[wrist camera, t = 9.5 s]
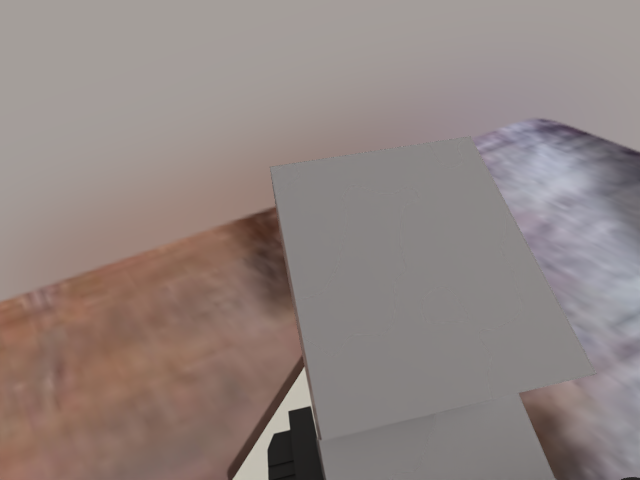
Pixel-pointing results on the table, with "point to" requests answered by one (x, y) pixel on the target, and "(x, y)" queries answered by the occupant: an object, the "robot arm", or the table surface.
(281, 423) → the felt pad
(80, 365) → the table surface
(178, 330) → the table surface
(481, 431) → the brushed aluminum pillar
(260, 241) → the table surface
